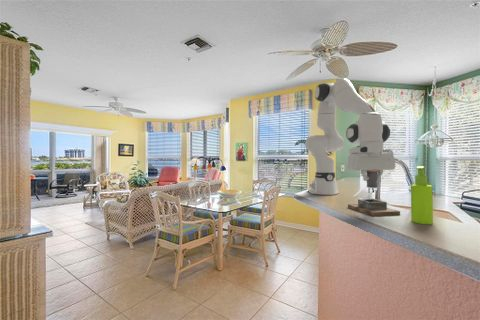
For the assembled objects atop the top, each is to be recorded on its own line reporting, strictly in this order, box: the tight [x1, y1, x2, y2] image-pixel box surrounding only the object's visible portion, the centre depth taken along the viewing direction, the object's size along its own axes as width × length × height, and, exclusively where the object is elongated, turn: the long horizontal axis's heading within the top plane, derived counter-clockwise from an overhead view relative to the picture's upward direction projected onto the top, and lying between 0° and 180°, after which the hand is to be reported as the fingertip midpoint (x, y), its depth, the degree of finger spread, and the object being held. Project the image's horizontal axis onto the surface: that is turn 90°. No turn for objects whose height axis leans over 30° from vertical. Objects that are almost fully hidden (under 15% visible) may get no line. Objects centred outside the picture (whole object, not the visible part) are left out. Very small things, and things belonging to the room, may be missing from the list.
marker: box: [366, 169, 379, 189], centre depth 93 cm, size 4×4×8 cm
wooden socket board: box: [347, 198, 401, 217], centre depth 93 cm, size 16×12×4 cm
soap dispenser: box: [410, 165, 434, 225], centre depth 76 cm, size 6×7×20 cm
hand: (371, 180), depth 93 cm, fingers closed on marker, 4 cm apart
